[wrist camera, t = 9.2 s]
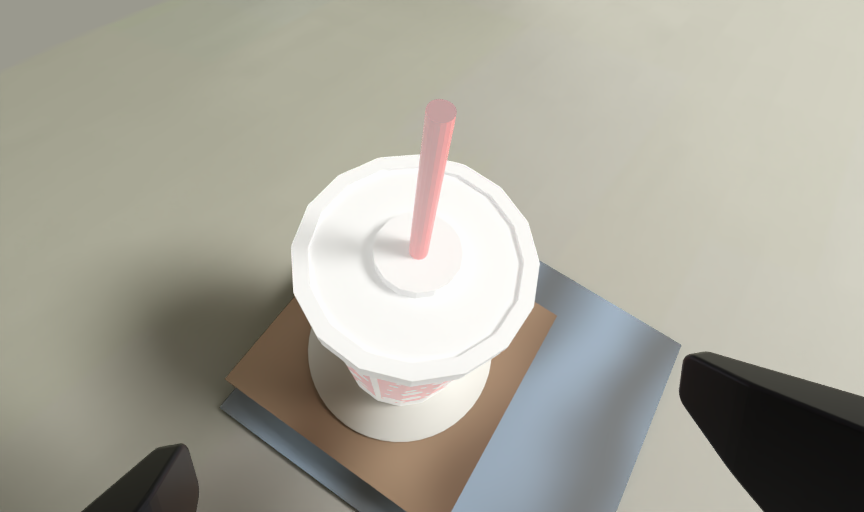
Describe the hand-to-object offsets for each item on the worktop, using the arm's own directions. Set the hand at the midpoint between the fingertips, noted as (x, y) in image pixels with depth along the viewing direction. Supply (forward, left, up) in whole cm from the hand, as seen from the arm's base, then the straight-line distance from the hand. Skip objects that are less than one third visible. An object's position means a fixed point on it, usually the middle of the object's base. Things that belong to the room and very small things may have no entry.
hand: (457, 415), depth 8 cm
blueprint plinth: (0, -4, -13) cm, 14 cm away
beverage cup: (+3, -3, -11) cm, 12 cm away
